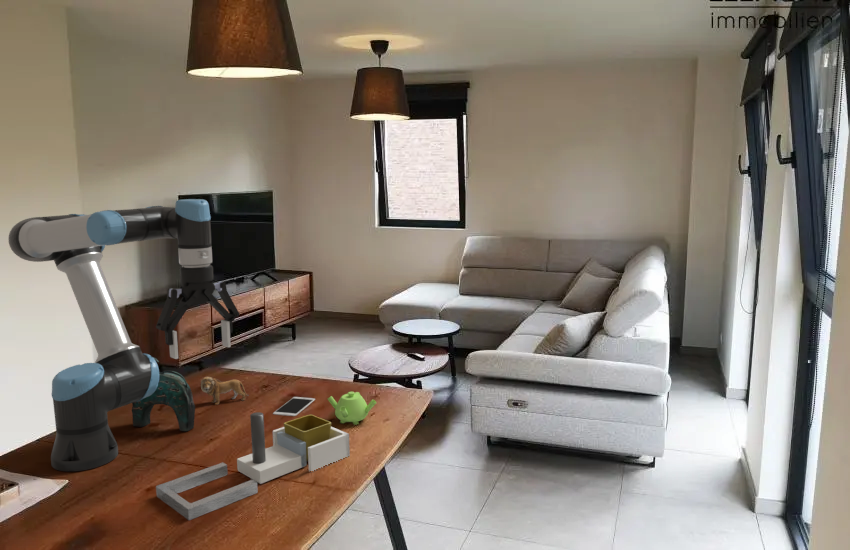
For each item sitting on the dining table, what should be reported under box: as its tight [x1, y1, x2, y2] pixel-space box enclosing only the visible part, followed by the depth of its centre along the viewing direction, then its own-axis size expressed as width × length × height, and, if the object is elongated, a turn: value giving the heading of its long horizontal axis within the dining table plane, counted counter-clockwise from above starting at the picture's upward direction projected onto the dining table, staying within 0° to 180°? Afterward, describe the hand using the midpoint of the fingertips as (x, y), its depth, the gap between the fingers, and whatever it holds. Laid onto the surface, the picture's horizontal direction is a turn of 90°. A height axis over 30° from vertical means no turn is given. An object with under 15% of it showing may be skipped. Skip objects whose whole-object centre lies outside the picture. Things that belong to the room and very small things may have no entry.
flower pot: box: [283, 414, 332, 462], centre depth 171 cm, size 9×9×9 cm
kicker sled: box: [236, 411, 308, 485], centre depth 163 cm, size 13×10×15 cm
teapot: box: [327, 391, 377, 426], centre depth 194 cm, size 11×12×8 cm
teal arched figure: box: [131, 356, 196, 432], centre depth 190 cm, size 20×6×20 cm, turn 75°
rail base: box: [155, 462, 259, 521], centre depth 152 cm, size 16×15×2 cm
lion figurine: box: [200, 376, 250, 406], centre depth 211 cm, size 15×5×9 cm, turn 123°
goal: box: [272, 426, 351, 472], centre depth 172 cm, size 12×16×6 cm
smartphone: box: [272, 396, 316, 417], centre depth 207 cm, size 8×1×15 cm
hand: (201, 352), depth 163 cm, fingers open, 13 cm apart
